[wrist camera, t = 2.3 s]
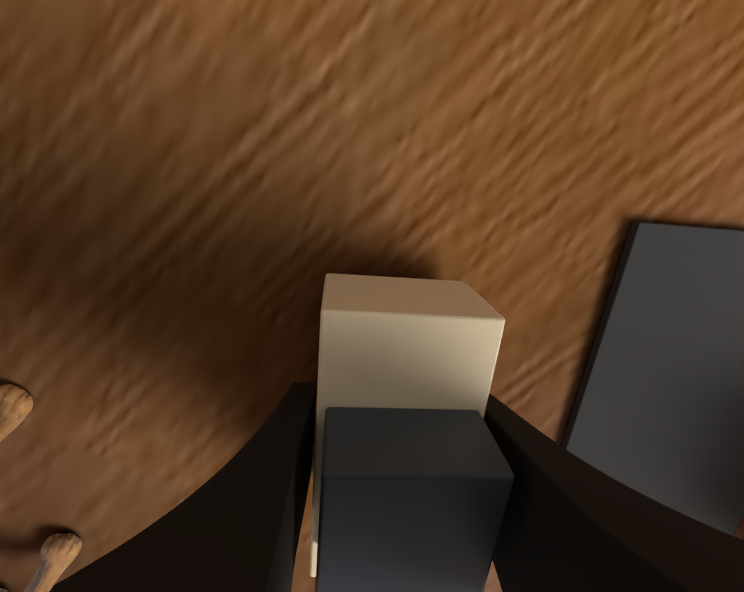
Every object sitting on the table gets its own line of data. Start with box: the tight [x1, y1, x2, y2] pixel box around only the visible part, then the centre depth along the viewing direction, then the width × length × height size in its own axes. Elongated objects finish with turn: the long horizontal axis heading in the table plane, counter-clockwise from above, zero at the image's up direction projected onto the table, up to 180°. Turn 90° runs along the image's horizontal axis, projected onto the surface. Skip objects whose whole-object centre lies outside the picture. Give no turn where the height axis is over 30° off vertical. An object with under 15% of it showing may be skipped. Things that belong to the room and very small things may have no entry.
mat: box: [561, 221, 744, 536], centre depth 15 cm, size 20×9×1 cm, turn 175°
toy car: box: [309, 273, 514, 592], centre depth 10 cm, size 8×4×5 cm, turn 175°
